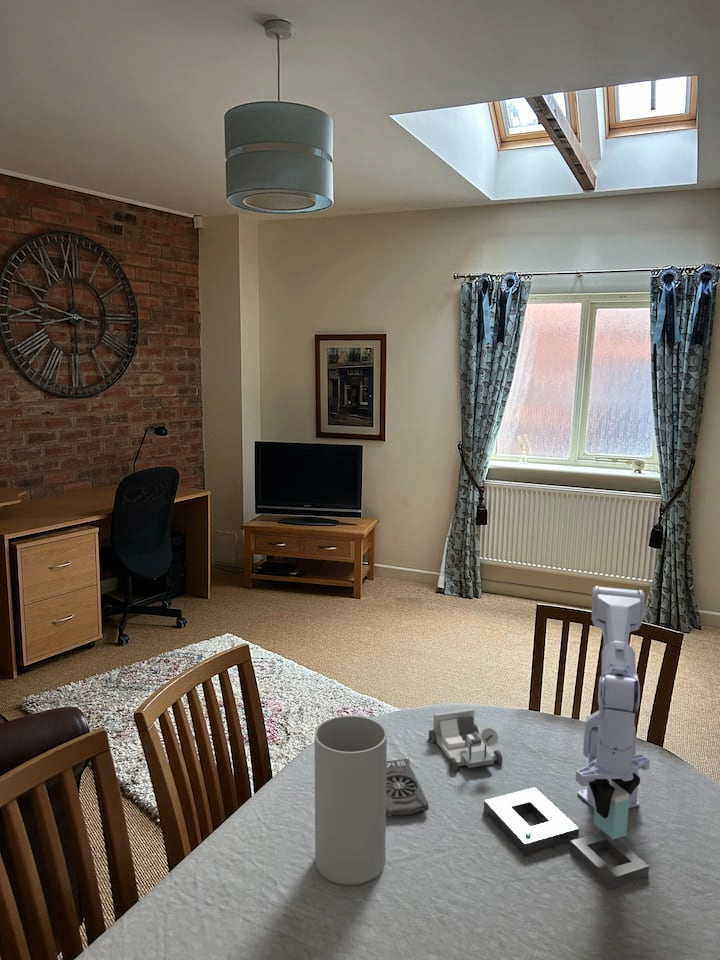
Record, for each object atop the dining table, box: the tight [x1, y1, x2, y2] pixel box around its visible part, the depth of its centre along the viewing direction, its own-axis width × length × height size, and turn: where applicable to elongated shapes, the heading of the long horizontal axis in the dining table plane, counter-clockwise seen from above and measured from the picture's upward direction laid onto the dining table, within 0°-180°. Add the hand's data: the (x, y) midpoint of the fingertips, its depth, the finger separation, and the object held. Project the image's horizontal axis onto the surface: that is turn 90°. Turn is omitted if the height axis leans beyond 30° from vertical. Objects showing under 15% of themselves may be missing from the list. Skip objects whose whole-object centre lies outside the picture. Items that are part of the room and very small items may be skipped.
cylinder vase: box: [314, 715, 388, 886], centre depth 128 cm, size 12×12×25 cm
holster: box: [569, 830, 650, 890], centre depth 130 cm, size 8×10×2 cm
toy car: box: [428, 707, 503, 773], centre depth 164 cm, size 18×10×12 cm
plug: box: [593, 779, 630, 839], centre depth 128 cm, size 3×5×8 cm, turn 22°
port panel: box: [483, 787, 580, 857], centre depth 140 cm, size 12×14×3 cm
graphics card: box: [386, 756, 429, 817], centre depth 150 cm, size 17×4×12 cm
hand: (610, 812), depth 128 cm, fingers closed on plug, 3 cm apart
